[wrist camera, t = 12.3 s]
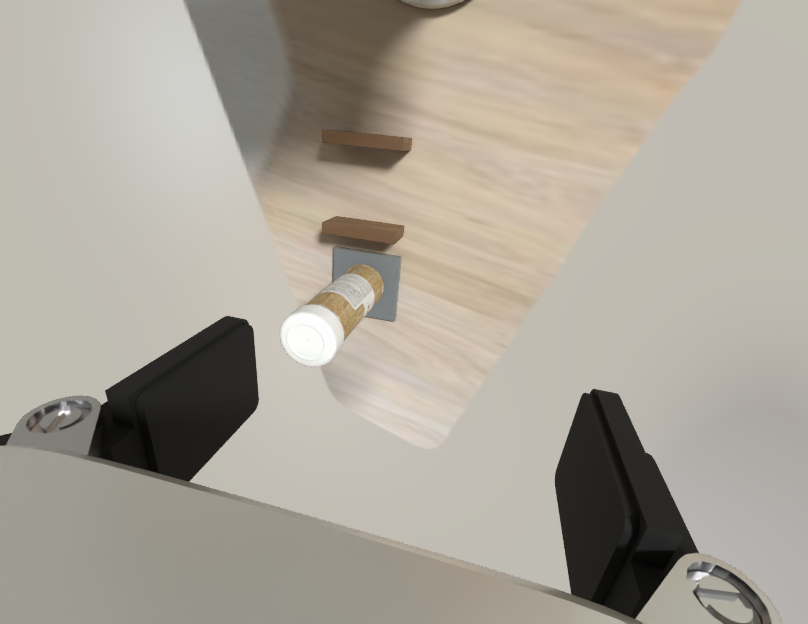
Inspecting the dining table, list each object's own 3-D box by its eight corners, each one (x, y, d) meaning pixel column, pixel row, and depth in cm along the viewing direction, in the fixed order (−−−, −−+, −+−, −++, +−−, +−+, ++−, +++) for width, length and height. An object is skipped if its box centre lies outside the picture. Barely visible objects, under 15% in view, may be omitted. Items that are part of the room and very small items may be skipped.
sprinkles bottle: (367, 312, 42) (313, 380, 30) (335, 283, 41) (266, 340, 29) (394, 283, 40) (347, 343, 28) (360, 253, 39) (297, 301, 27)
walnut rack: (338, 130, 36) (322, 129, 33) (412, 138, 35) (403, 137, 32) (336, 226, 40) (321, 233, 36) (403, 235, 38) (394, 244, 35)
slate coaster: (335, 246, 40) (333, 247, 40) (401, 256, 39) (399, 258, 39) (334, 308, 43) (332, 310, 43) (395, 319, 42) (394, 321, 42)
